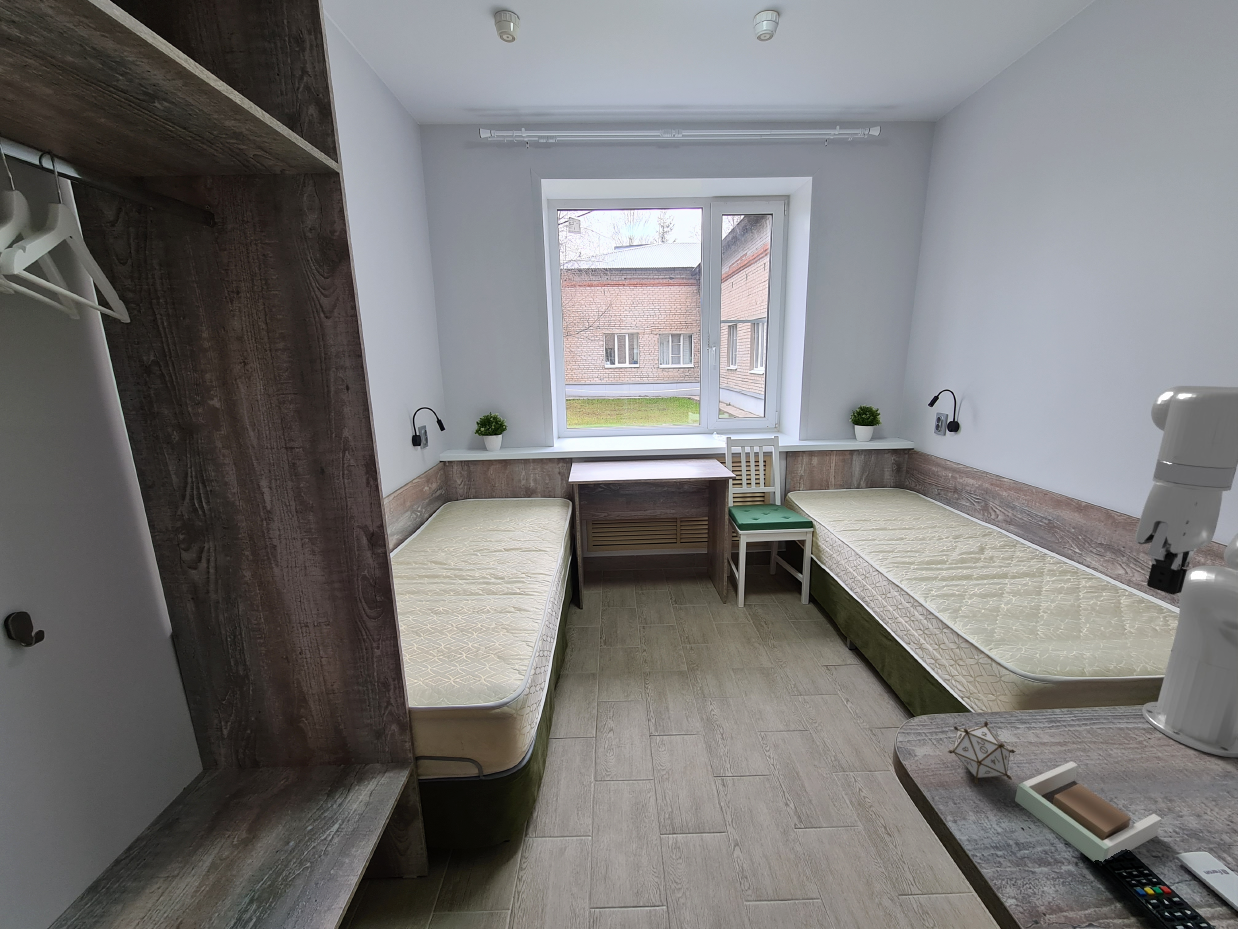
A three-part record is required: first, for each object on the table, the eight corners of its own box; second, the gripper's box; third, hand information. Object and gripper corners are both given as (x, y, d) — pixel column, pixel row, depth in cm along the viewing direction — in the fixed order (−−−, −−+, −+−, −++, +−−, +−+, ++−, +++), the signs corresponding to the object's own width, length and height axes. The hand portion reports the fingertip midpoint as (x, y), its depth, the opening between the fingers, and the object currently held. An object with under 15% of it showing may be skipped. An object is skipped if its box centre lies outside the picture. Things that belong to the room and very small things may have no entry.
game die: (988, 798, 79) (1039, 788, 72) (937, 775, 80) (982, 763, 73) (980, 741, 85) (1025, 727, 78) (932, 720, 86) (973, 704, 79)
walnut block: (1073, 805, 74) (1078, 783, 73) (1125, 840, 68) (1131, 817, 67) (1049, 817, 72) (1054, 795, 71) (1100, 855, 66) (1106, 832, 65)
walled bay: (1068, 776, 78) (1071, 761, 78) (1156, 835, 69) (1161, 818, 68) (1014, 800, 74) (1018, 784, 74) (1100, 867, 65) (1105, 849, 64)
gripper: (1184, 466, 76) (1158, 573, 80) (1128, 473, 71) (1102, 587, 75) (1258, 476, 69) (1225, 593, 73) (1201, 485, 64) (1169, 610, 68)
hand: (1163, 589), depth 74 cm, fingers closed
